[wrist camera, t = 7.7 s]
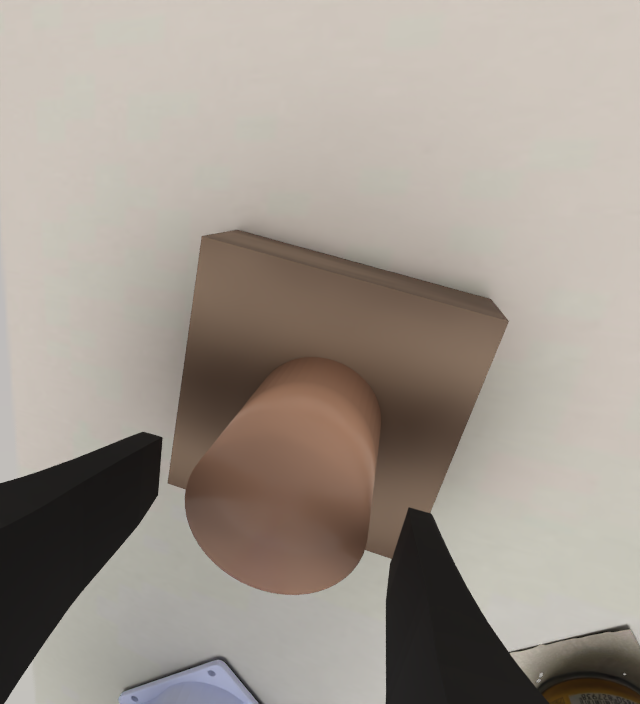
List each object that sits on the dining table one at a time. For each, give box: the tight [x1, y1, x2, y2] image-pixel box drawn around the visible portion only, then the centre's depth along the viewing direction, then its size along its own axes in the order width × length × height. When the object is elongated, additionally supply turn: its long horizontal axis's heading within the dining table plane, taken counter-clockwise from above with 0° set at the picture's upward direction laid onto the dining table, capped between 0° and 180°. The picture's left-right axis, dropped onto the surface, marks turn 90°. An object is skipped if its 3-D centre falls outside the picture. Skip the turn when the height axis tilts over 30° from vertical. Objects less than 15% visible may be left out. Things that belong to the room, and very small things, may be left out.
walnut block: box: [168, 230, 509, 559], centre depth 19 cm, size 11×11×4 cm
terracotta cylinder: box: [185, 357, 381, 595], centre depth 15 cm, size 5×5×6 cm
